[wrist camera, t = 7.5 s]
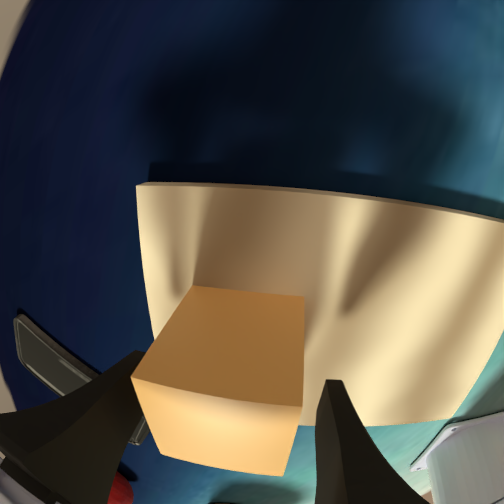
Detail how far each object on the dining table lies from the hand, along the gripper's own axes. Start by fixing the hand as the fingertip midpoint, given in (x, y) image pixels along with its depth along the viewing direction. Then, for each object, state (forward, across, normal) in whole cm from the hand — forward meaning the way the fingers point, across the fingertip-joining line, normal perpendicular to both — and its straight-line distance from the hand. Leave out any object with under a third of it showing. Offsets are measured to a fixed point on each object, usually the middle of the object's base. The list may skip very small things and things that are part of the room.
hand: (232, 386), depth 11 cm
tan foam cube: (+3, 0, 0) cm, 3 cm away
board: (+4, -5, 0) cm, 7 cm away
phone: (+5, +15, +10) cm, 19 cm away
